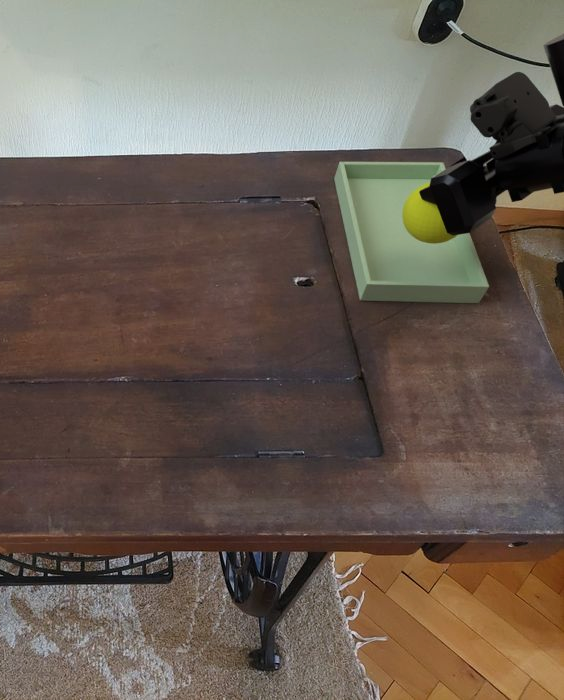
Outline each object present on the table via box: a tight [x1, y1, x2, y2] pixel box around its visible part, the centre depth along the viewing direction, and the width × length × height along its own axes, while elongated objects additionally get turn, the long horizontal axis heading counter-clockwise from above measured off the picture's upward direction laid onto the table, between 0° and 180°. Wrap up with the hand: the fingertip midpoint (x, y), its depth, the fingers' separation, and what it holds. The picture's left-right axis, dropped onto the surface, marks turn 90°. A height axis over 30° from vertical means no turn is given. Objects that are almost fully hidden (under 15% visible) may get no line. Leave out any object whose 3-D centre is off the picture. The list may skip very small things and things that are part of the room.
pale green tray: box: [333, 161, 490, 304], centre depth 86 cm, size 14×23×3 cm, turn 176°
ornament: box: [402, 169, 457, 244], centre depth 74 cm, size 7×7×10 cm
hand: (435, 185), depth 73 cm, fingers closed on ornament, 5 cm apart
